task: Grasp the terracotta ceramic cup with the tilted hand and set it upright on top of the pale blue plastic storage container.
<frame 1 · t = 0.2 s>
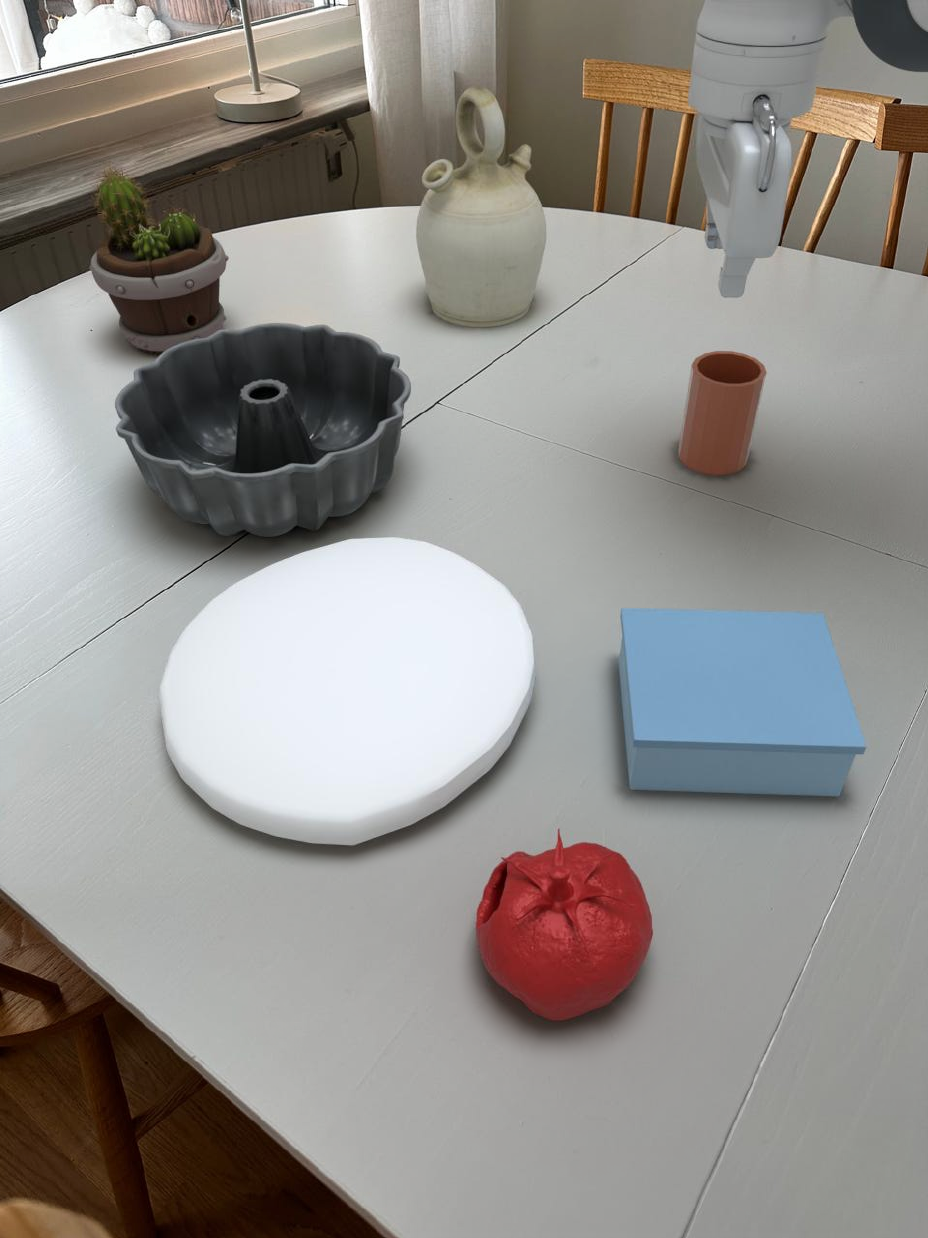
hand: (722, 268, 79), 21 cm above the table, tool pointing down, fingers open, 8 cm apart
container: (720, 729, 71), on the table
cup: (711, 460, 96), on the table
flowerpot: (177, 340, 117), on the table
pomegranate: (558, 955, 58), on the table
bundt pan: (280, 483, 95), on the table
jug: (481, 309, 122), on the table
plate: (354, 700, 74), on the table
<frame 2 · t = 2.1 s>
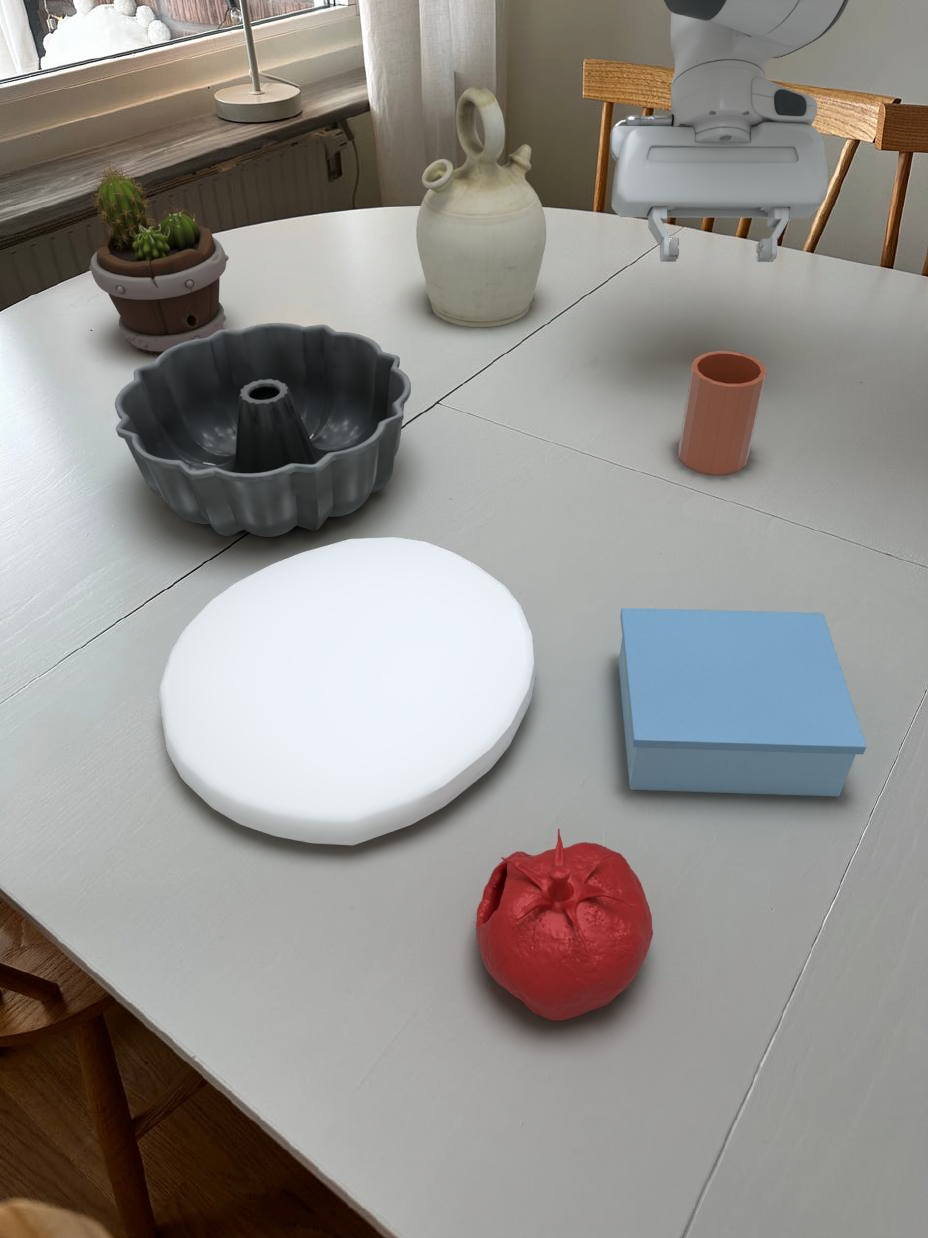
hand: (718, 259, 94), 15 cm above the table, tool tilted 45°, fingers open, 8 cm apart
nothing on the table moved.
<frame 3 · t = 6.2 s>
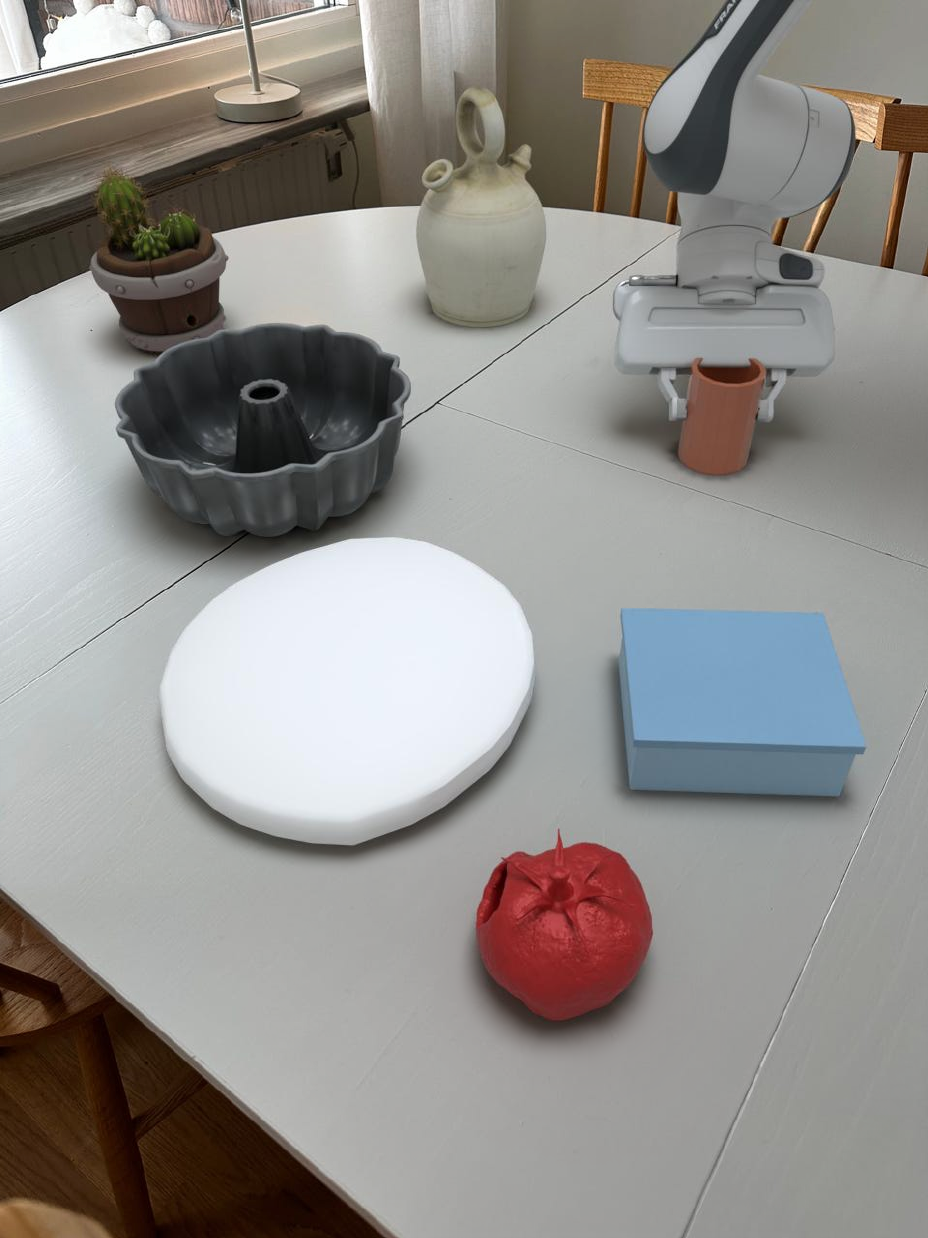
hand: (721, 420, 92), 5 cm above the table, tool tilted 45°, fingers closed on cup, 6 cm apart
cup: (711, 460, 96), on the table, touching gripper
everything else where it was.
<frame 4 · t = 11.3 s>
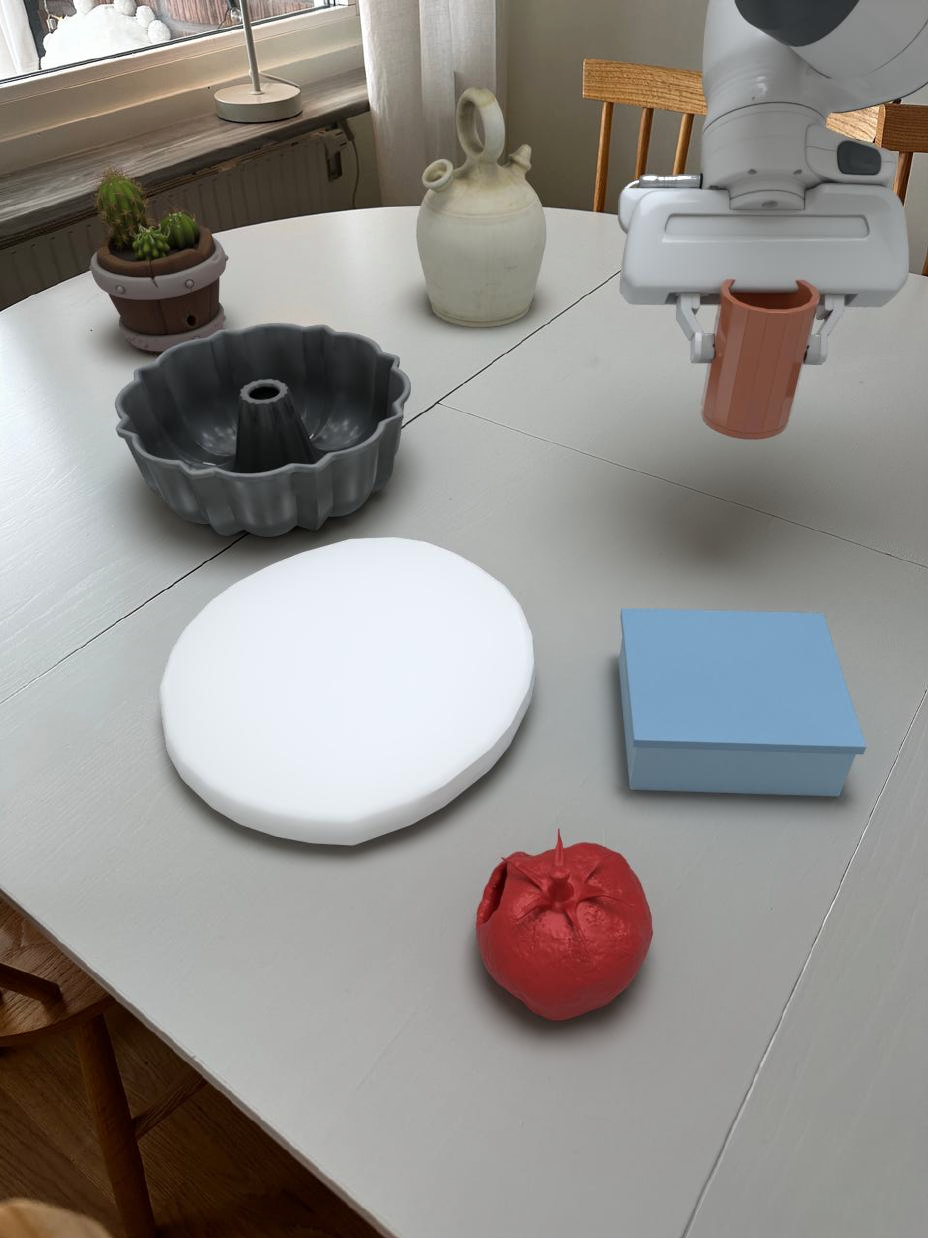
hand: (758, 362, 71), 19 cm above the table, tool tilted 45°, fingers closed on cup, 6 cm apart
cup: (744, 416, 75), point 14 cm above the table, touching gripper
everything else where it was.
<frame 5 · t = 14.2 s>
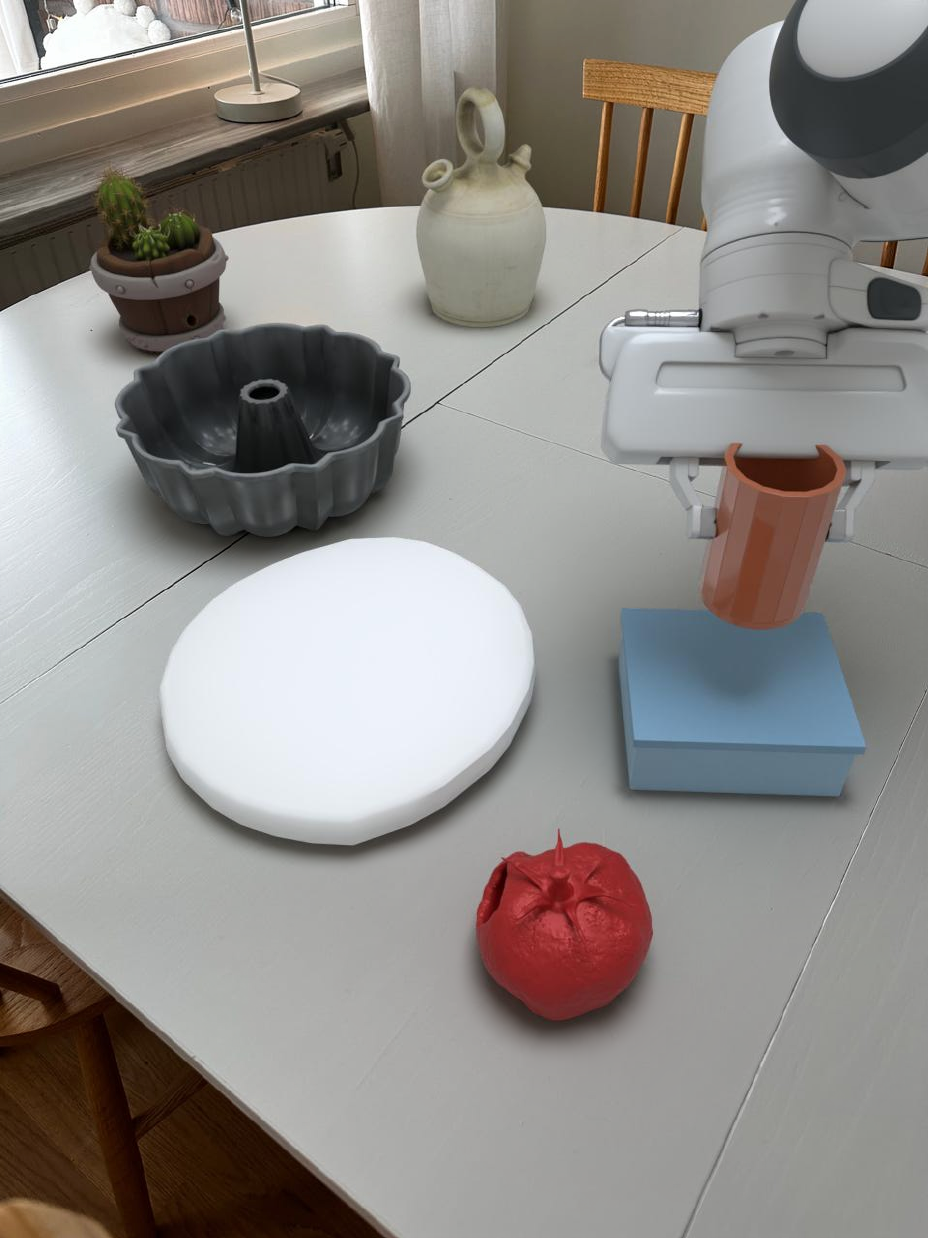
hand: (769, 540, 58), 18 cm above the table, tool tilted 45°, fingers closed on cup, 6 cm apart
cup: (751, 594, 62), point 13 cm above the table, touching gripper
everything else where it was.
when the fingers open (11 cm above the table, at t = 16.7 s): cup stays where it is, resting on container.
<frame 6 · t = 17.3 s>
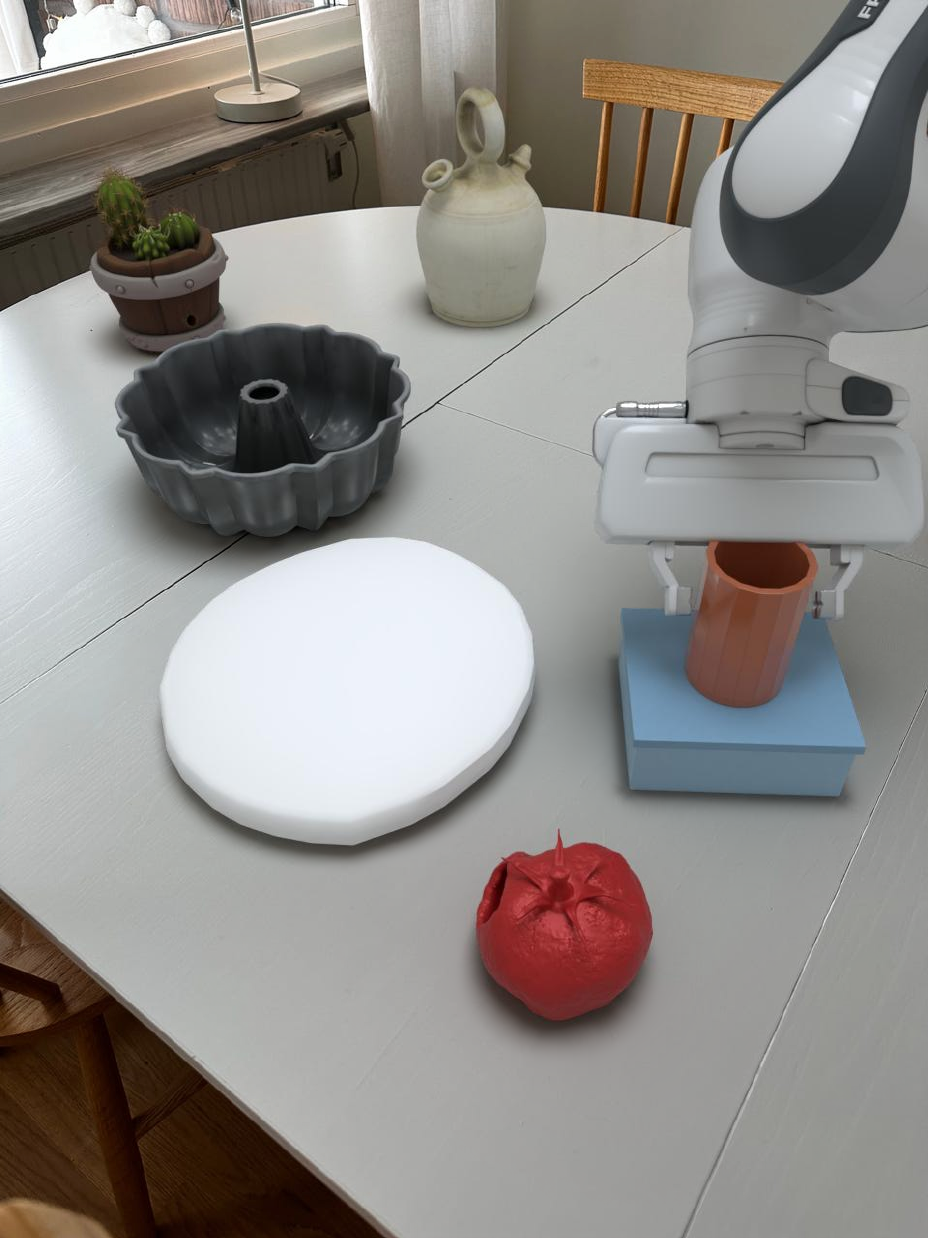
hand: (752, 617, 62), 12 cm above the table, tool tilted 45°, fingers open, 8 cm apart
cup: (733, 672, 67), point 6 cm above the table, touching container
everything else where it was.
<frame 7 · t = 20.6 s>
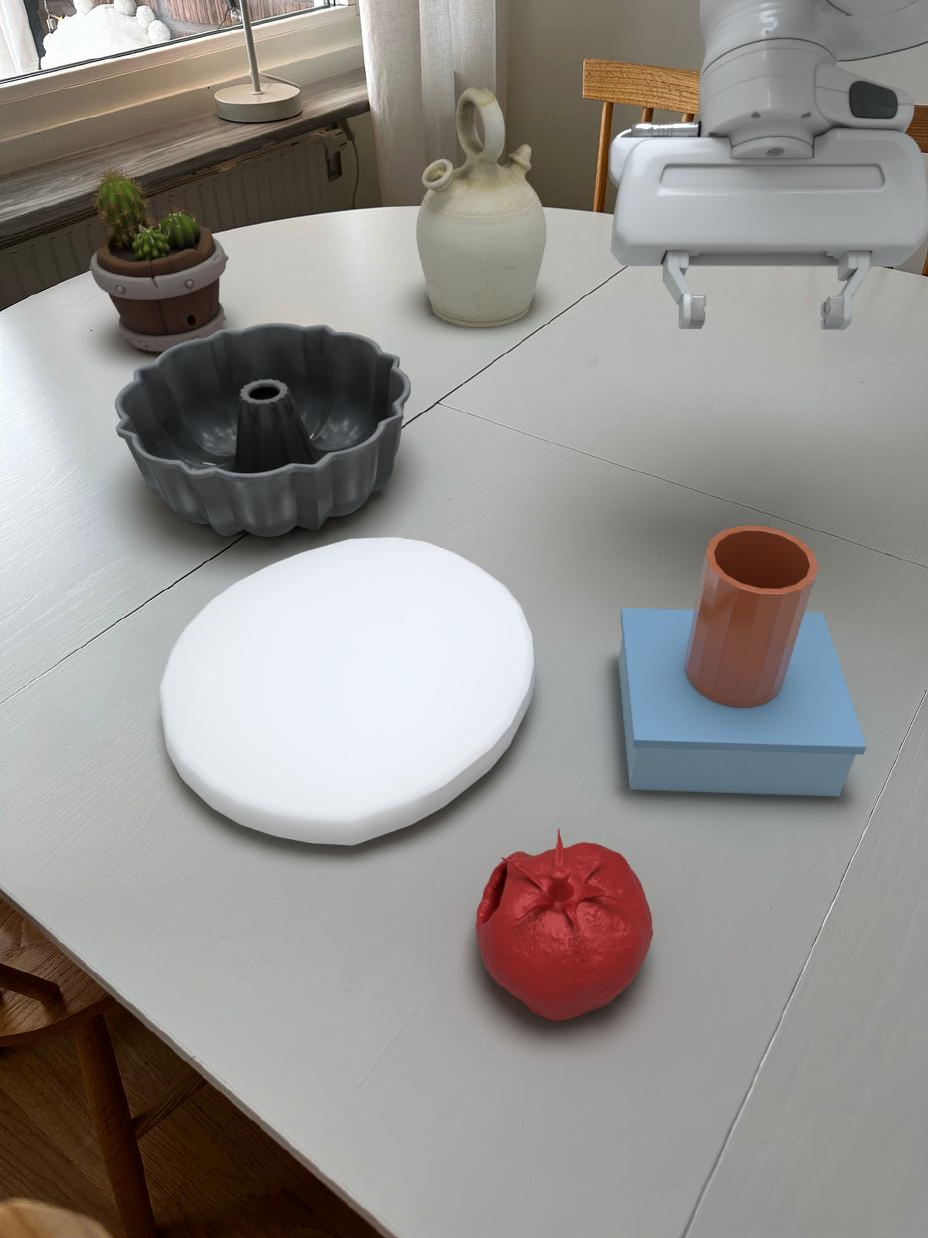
hand: (763, 326, 65), 24 cm above the table, tool tilted 45°, fingers open, 8 cm apart
nothing on the table moved.
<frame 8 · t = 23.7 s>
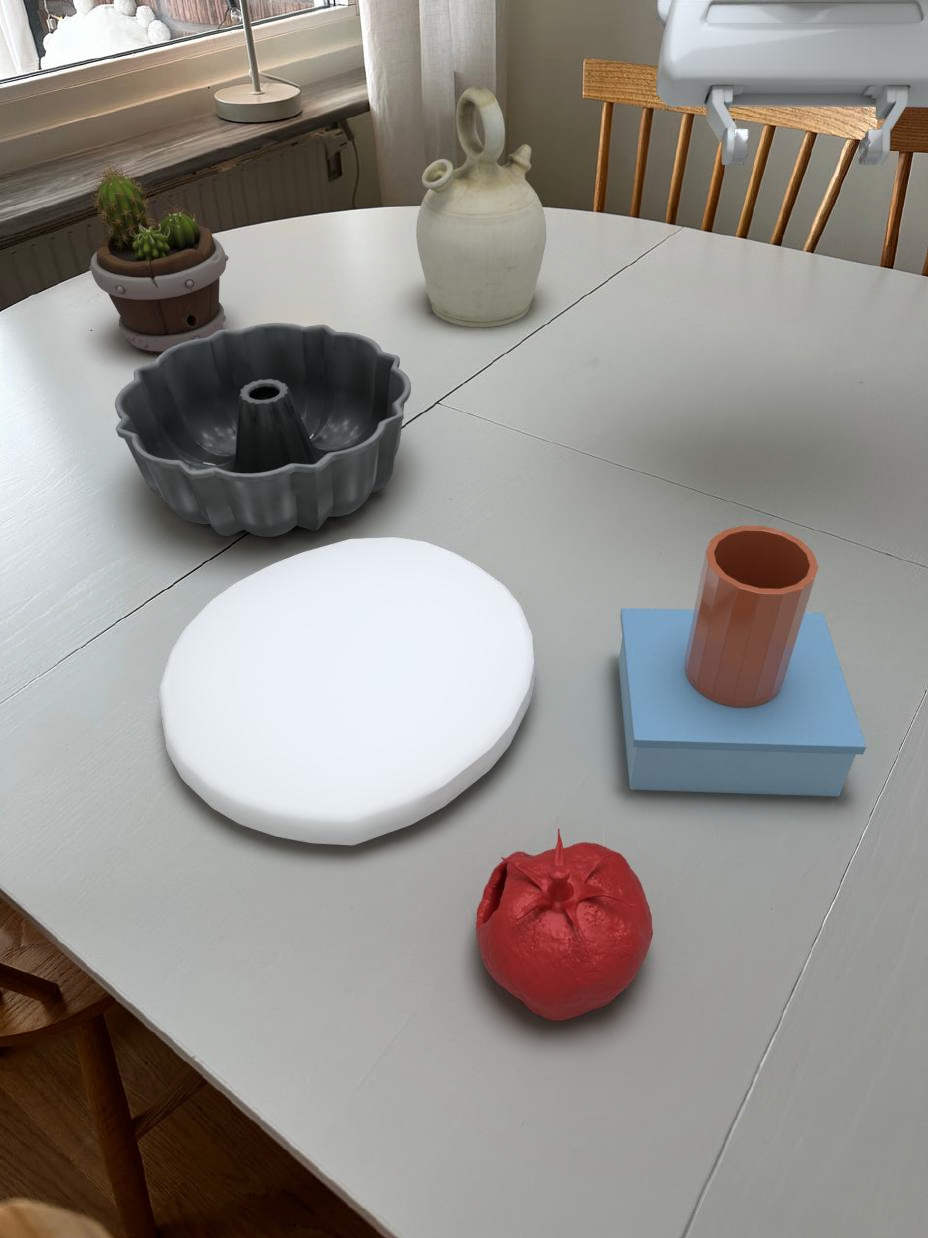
hand: (804, 161, 67), 31 cm above the table, tool tilted 45°, fingers open, 8 cm apart
nothing on the table moved.
at the end: cup inside the target area on the container (0.1 cm from its centre), point 6.0 cm above the container's base; cup tilted 0°; the gripper is holding nothing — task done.
